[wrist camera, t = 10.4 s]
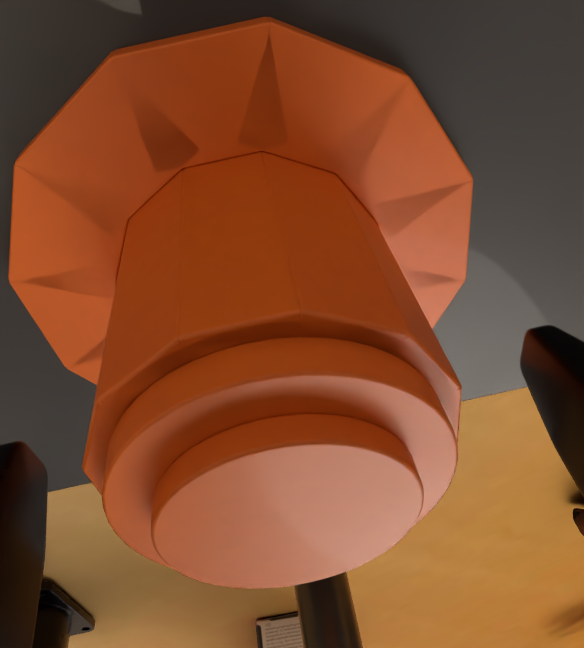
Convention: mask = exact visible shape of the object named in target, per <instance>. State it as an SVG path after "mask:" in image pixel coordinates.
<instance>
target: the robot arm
mask: <svg viewBox="0 0 584 648" xmlns="http://www.w3.org/2000/svg"><path fill="white" fill-rule="evenodd" d="M520 368H521V372H522V375H523V377H524V379H525V382H526V384H527V386H528V388H529V391H530V393H531V395H532V397H533V400H534V402H535V404H536V406H537V409H538V411H539V413H540V415H541V418H542V420H543V422H544V425H545V427H546V429H547V431H548V434H549V436H550V438H551V440H552V442H553V444H554V446H555V448H556V450H557V452H558V454H559V456H560V457H561V459H562V461H563V463H564V464H565V466H566V468H567V469H568V471H569V473H570V475H571V476H572V478H573V480H574V481H575V483H576V485H577V486H578V488H579V490H580V492H581V493H582V495H583V497H584V341H582V340H580V339H578V338H576V337H574V336H572V335H571V334H569V333H567V332H565V331H563V330H561V329H559V328H557V327H555V326H553V325H544V326H539V327H534V328H530V329H528V330H527V331H526V333H525V336H524V341H523V346H522V352H521V357H520ZM47 491H48V474H47V470H46V467H45V465H44V464H43V463H42V462H41V460H40V459H39V458H38V457H37V456H36V455H35V453H34V452H33V451H32V450H31V449H30V447H29V446H28V445H27V444H26V443H25V442H22V441H15V442H10V443H6V444H1V445H0V648H68V643H69V637H70V636H71V635H76V634H81V633H85V632H89V631H92V630H94V627H95V620H94V619H93V618H92V617H91V616H89V615H88V614H87V613H86V612H85V611H84V610H83V609H82V608H80V607H79V606H78V605H77V604H76V603H75V602H74V601H73V600H71V599H70V598H69V597H68V596H67V595H66V594H65V593H63V592H62V591H61V590H60V589H59V588H58V587H57V586H56V585H54V584H53V583H51V582H42V576H43V569H44V561H45V547H46V519H47Z"/></svg>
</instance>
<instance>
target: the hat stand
mask: <svg viewBox="0 0 584 648" xmlns="http://www.w3.org/2000/svg"><path fill="white" fill-rule="evenodd" d="M294 586H295V593H296V600H297V607H298V614H299V621H300V628H301V635H302V642H303V648H363V646H362V642H361V637H360V633H359V628H358V623H357V619H356V614H355V610H354V605H353V601H352V596H351V592H350V587H349V583H348V578H347V573H346V572H344V573H341V574H338V575H335V576H332V577H328V578H325V579H321V580H317V581H313V582H309V583H304V584H299V585H294Z"/></svg>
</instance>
